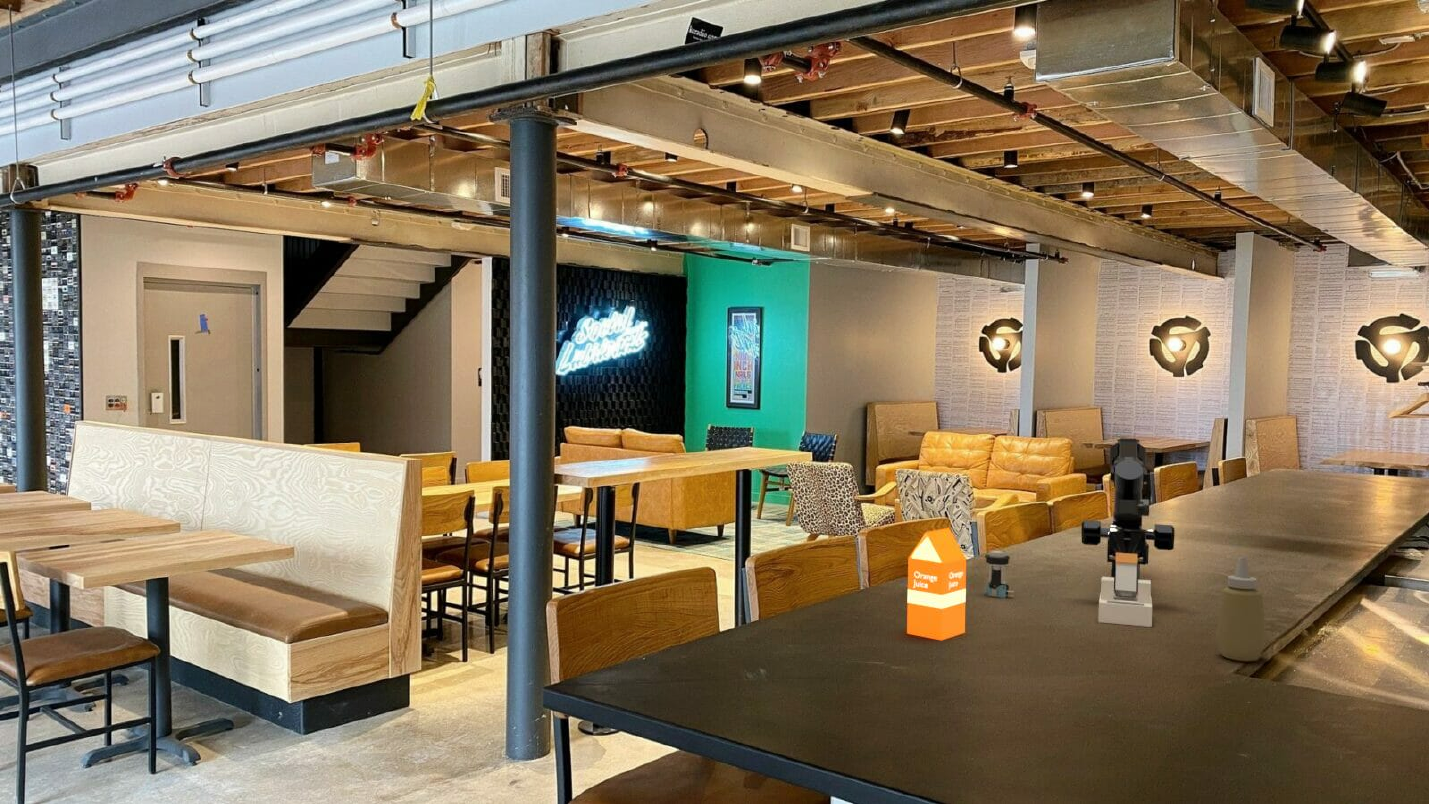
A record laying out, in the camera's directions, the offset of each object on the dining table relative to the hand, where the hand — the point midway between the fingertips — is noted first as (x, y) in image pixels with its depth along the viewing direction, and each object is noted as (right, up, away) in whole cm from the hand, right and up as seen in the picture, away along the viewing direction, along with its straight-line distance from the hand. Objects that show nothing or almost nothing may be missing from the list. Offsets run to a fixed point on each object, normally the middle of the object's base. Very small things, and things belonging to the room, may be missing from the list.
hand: (1126, 566), depth 224 cm
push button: (-23, -9, +14) cm, 29 cm away
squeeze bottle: (+6, -11, -36) cm, 38 cm away
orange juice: (-45, -10, -20) cm, 50 cm away
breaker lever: (-3, -4, -7) cm, 9 cm away
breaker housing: (-3, -10, -7) cm, 12 cm away
